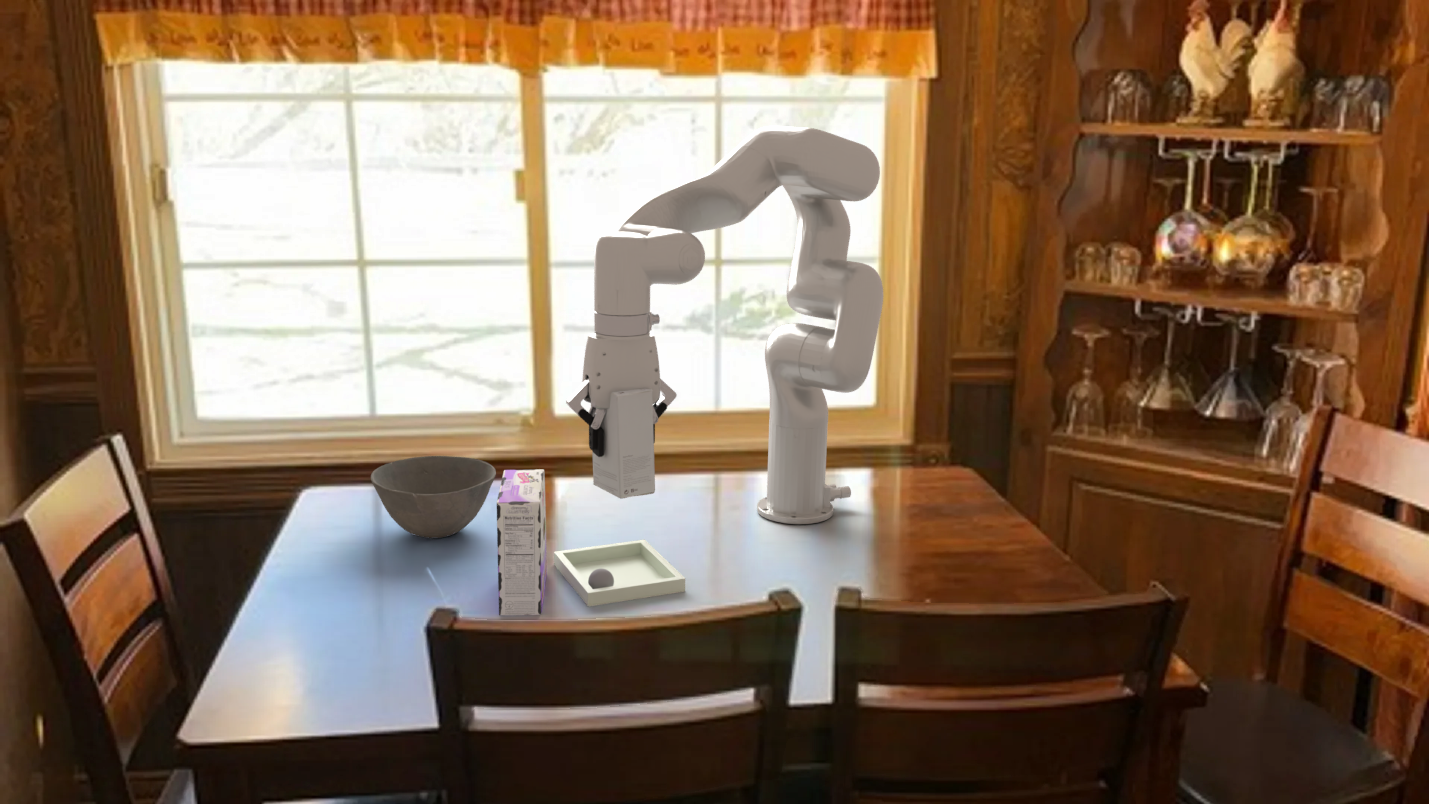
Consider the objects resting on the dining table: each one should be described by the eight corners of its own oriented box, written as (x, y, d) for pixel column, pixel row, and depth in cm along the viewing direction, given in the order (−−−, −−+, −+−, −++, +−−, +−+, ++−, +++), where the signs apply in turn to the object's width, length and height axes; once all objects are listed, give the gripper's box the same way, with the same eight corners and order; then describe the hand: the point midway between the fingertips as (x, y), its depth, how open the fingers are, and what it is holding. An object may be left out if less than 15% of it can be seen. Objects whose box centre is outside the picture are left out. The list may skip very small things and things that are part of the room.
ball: (609, 586, 170) (609, 563, 169) (617, 596, 167) (617, 572, 166) (585, 590, 169) (584, 566, 168) (593, 599, 166) (592, 575, 165)
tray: (644, 555, 184) (644, 539, 183) (685, 595, 169) (685, 578, 169) (554, 567, 178) (553, 551, 177) (588, 610, 164) (588, 593, 163)
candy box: (506, 578, 174) (503, 468, 170) (547, 578, 174) (546, 467, 170) (497, 620, 161) (494, 500, 156) (542, 619, 161) (540, 500, 157)
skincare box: (655, 494, 170) (657, 390, 166) (617, 501, 167) (618, 394, 163) (626, 478, 177) (626, 377, 173) (588, 484, 173) (588, 381, 170)
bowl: (370, 559, 180) (366, 495, 177) (377, 516, 198) (374, 457, 195) (499, 552, 184) (498, 488, 181) (495, 510, 201) (493, 452, 199)
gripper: (671, 316, 173) (670, 439, 177) (552, 323, 166) (554, 450, 170) (692, 326, 166) (690, 453, 170) (568, 333, 159) (570, 465, 164)
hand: (622, 450), depth 170 cm, fingers closed on skincare box, 6 cm apart
